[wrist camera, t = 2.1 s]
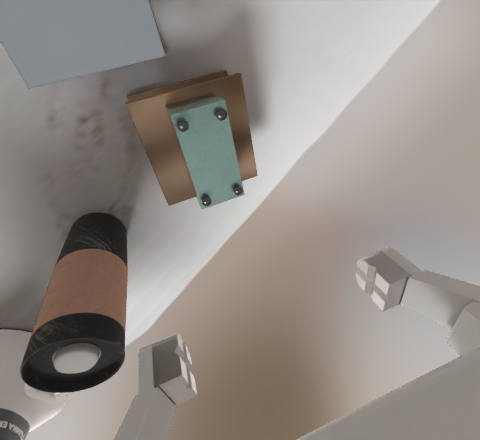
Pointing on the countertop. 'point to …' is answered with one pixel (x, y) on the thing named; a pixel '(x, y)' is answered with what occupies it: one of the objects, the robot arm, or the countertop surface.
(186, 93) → the stand
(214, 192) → the block
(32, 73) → the stand
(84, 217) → the travel mug
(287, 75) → the countertop surface
